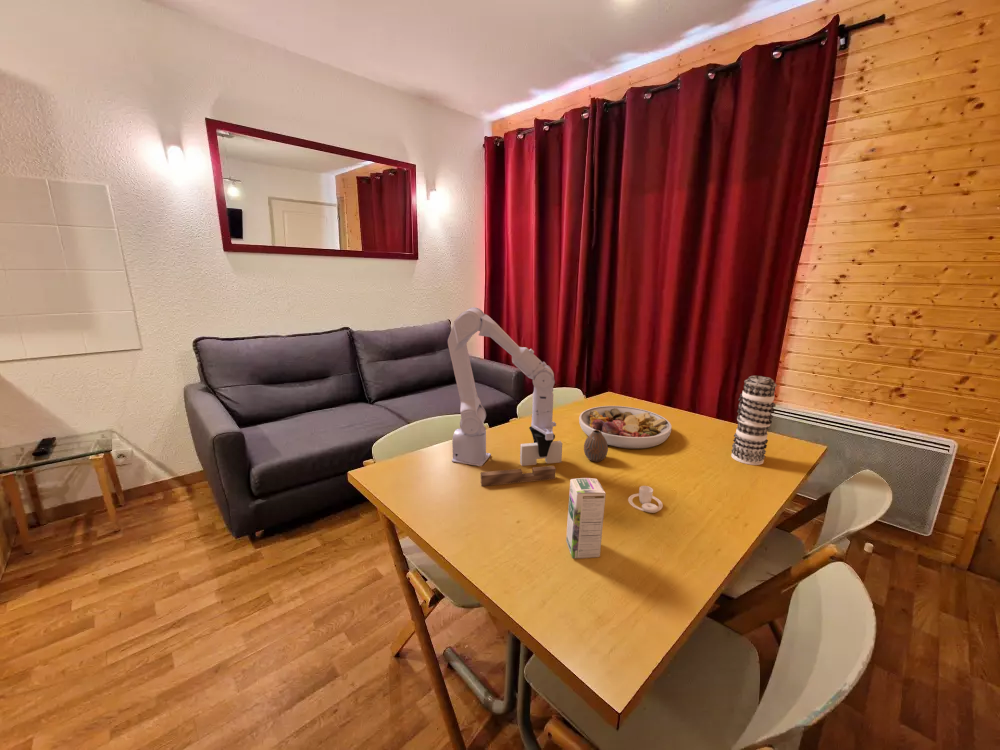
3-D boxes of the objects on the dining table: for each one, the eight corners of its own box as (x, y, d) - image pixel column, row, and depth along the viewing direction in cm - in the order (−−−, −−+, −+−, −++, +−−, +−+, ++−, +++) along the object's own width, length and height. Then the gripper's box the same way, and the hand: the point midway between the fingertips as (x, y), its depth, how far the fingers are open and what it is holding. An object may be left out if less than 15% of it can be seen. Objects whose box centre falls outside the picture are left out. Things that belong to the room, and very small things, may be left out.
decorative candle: (722, 454, 126) (734, 375, 119) (745, 450, 129) (759, 372, 122) (748, 467, 117) (762, 383, 111) (772, 463, 120) (788, 380, 114)
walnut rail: (481, 486, 107) (481, 475, 106) (480, 482, 109) (480, 472, 108) (555, 478, 111) (555, 468, 110) (553, 475, 113) (553, 465, 112)
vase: (607, 465, 119) (609, 437, 116) (583, 462, 120) (584, 435, 118) (606, 454, 125) (608, 427, 123) (583, 452, 127) (585, 426, 124)
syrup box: (565, 540, 86) (568, 478, 82) (592, 539, 86) (597, 476, 83) (572, 559, 80) (575, 493, 77) (601, 557, 81) (606, 492, 77)
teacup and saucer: (659, 519, 94) (660, 503, 93) (623, 509, 98) (625, 493, 97) (664, 500, 102) (666, 485, 101) (631, 492, 105) (633, 477, 104)
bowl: (598, 412, 162) (600, 393, 160) (679, 430, 145) (682, 409, 143) (563, 437, 138) (564, 415, 136) (655, 461, 121) (657, 437, 119)
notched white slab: (521, 465, 118) (522, 446, 116) (520, 462, 120) (520, 443, 118) (561, 462, 120) (562, 443, 119) (559, 459, 122) (560, 440, 120)
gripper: (565, 417, 110) (562, 463, 113) (548, 400, 123) (546, 442, 127) (539, 418, 108) (538, 465, 112) (525, 401, 122) (524, 443, 126)
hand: (541, 453), depth 119 cm, fingers open, 3 cm apart
